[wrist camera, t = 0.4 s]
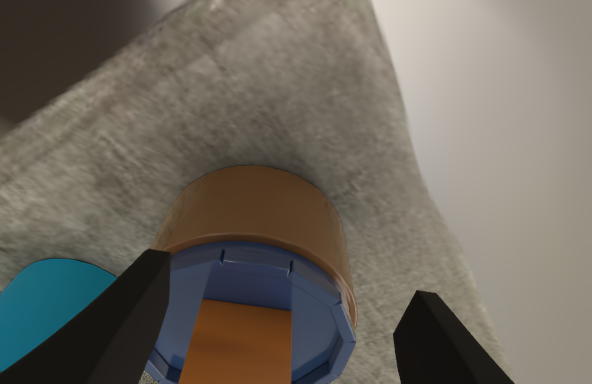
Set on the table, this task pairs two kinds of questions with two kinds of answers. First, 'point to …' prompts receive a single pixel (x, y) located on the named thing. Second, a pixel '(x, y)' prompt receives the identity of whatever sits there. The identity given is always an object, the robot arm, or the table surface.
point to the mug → (45, 303)
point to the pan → (258, 266)
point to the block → (239, 345)
